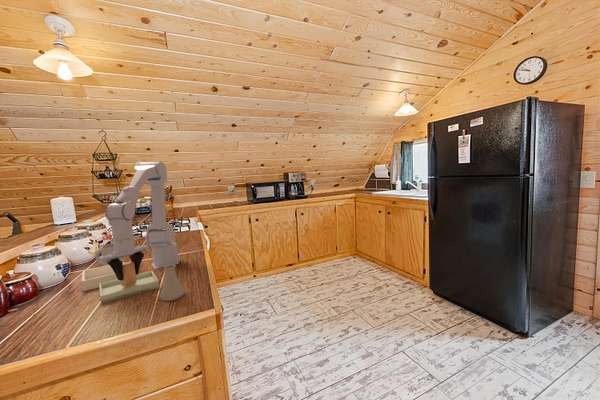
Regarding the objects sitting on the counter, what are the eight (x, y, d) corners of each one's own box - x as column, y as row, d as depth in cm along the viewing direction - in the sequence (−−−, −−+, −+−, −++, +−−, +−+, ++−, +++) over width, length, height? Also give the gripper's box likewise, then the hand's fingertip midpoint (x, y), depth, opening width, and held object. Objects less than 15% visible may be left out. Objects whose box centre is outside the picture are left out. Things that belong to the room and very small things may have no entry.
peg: (131, 280, 91) (129, 261, 90) (139, 282, 89) (137, 262, 88) (118, 285, 87) (115, 265, 87) (126, 287, 85) (123, 267, 85)
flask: (190, 292, 85) (187, 263, 83) (172, 303, 78) (169, 271, 77) (172, 289, 87) (169, 261, 86) (154, 300, 80) (151, 269, 79)
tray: (152, 277, 98) (152, 270, 98) (159, 287, 89) (158, 280, 89) (100, 290, 88) (99, 283, 88) (101, 304, 79) (100, 296, 79)
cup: (119, 266, 111) (117, 246, 110) (92, 270, 108) (89, 249, 107) (125, 261, 118) (123, 242, 117) (100, 264, 115) (97, 245, 114)
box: (125, 271, 105) (124, 261, 105) (128, 281, 95) (127, 270, 95) (84, 280, 97) (82, 270, 97) (83, 292, 87) (81, 281, 87)
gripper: (138, 232, 95) (143, 267, 96) (92, 242, 82) (97, 283, 84) (150, 233, 91) (154, 270, 93) (103, 245, 79) (109, 287, 80)
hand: (128, 276), depth 88 cm, fingers closed on peg, 4 cm apart
